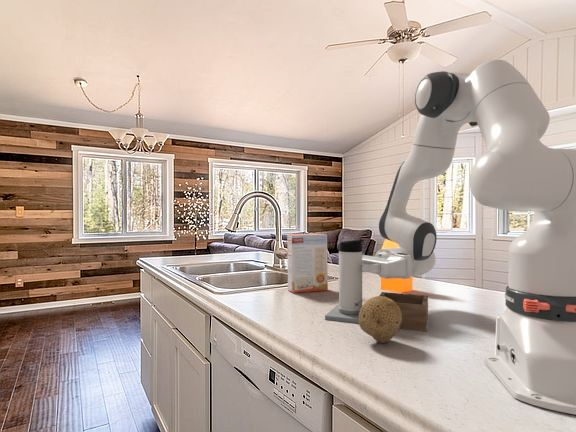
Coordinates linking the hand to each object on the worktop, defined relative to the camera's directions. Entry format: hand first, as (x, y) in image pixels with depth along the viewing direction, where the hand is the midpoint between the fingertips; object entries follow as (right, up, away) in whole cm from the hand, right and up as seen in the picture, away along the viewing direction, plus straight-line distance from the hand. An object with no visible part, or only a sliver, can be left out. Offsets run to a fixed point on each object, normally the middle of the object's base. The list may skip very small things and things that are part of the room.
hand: (350, 266), depth 97 cm
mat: (0, -14, 0) cm, 14 cm away
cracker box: (-10, -14, +34) cm, 38 cm away
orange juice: (+23, -14, +36) cm, 45 cm away
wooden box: (+12, -14, -5) cm, 19 cm away
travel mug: (0, -13, 0) cm, 13 cm away
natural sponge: (+3, -14, -21) cm, 25 cm away
